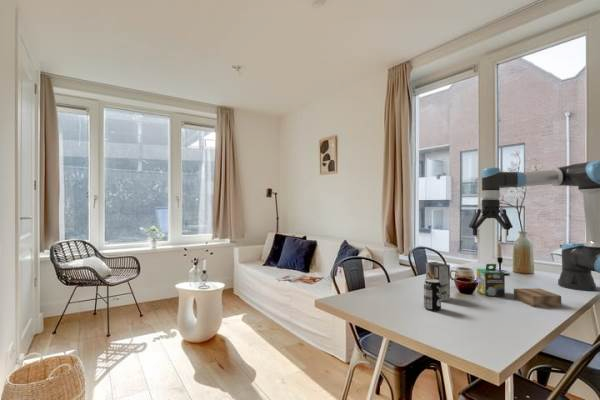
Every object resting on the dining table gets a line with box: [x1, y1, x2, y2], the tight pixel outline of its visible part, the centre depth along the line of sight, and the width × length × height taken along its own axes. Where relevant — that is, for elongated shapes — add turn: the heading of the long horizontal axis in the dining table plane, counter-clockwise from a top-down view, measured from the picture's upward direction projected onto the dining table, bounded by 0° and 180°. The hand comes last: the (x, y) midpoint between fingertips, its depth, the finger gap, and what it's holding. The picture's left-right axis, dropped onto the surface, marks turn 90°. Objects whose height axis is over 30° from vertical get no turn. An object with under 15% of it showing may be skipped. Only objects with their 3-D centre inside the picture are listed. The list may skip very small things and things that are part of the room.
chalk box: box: [476, 263, 506, 297], centre depth 154 cm, size 9×9×15 cm
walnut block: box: [513, 288, 562, 308], centre depth 140 cm, size 12×12×5 cm
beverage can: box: [423, 278, 442, 312], centre depth 132 cm, size 7×7×12 cm
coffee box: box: [425, 261, 451, 302], centre depth 147 cm, size 9×6×16 cm
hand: (490, 242), depth 154 cm, fingers open, 13 cm apart
